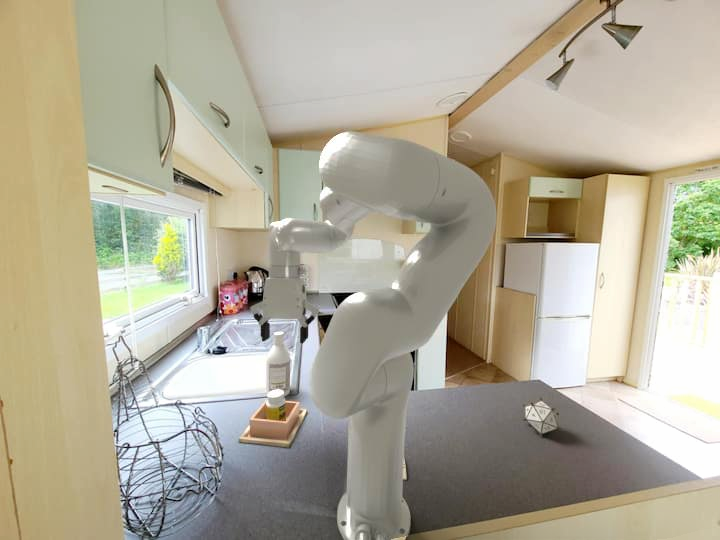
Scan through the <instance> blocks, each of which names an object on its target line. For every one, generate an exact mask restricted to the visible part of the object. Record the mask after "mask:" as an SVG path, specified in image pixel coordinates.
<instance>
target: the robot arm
mask: <svg viewBox="0 0 720 540" xmlns="http://www.w3.org/2000/svg"><path fill="white" fill-rule="evenodd" d="M318 165H319V166H318V169H319V176H320V179H321V181H322V183H323V185H324V186H325V187H324V188H323V190H322V191H321V193H320V195H319V207H320V210H321V213H322V215H323V216H324V218H325V220H326V221H321V220H313V219H303V218H301V219H300V218H294V217H293V218H292V217H288V218H284V219H282V220H280V221H274V222H272V223H270V225H269V227H268V277H266V278H265V284H264V288H263V297H262V301H259V302H258V303H255V304H253V305H251V306H250V307H249V309H250V312H251V314H252V315H253V318H254V319H255V320H256V321H257V323H258V325H259V326H260V337H261V341H262V342H265V341H267V340H269V339H270V336H271V329H270V328H271V327H270V325H271V324H270V322H269V320H270V319H273V320H274V319H275V320H277V319H279V320H280V319H281V320H297V321H298V322H299V323H300V325H301V327H300V328H299V342H300V344H305V342H306V341H307V340H308V339H309V326H310V324H311V323H312V322H313V321H314V320H315V319H316V318H317V315H318V314H319V312H320V308H319V307H317V306H315V305H313V304H312V303H309V302H308V300H307V292H306V283H305V278H303V277H302V275H306V274H307V269H306V268H303V267H302V265H301V254H304V253H306V254H307V253H308V254H314V253H315V254H326V253H329V252H333V251H335V250H337V249H338V248H340V247H342V246H343V245H345V244H347V242H349V240H350V239H351V237H352V236H353V234H354V231H355V227H356V224H357V223H358V222H359V221H361V220H363V219H364V218H366V217H367V216H368V215H370V214H372V213H374V212H375V213H378V214H380V215H382V216H384V217H389V218H393V219H397V220H403V221H410V222H415V223H416V222H417V223H424V224H429V225H430V228H429V230H428V232H427V233H426V234H425V235H424V236H423V237H422V238H421V239H420V240H419V241H418V242H417V243H416V244H415V245H414V247H412V249H411V250H410V251H409V252H408V254H407V256H406V258H405V259H404V262H403V264H402V266H401V267H400V269H399V271H398V273H397V275H396V276H395V278H394V279H393V281H392V282H391V283H390V284H389V285H387V286H384V287H382V288H373V289H364V290H362V291H358V292H355V293H353V294H351V295H349V296H348V297H346V298H345V299H344V300H343V301H342V302H341V303H340V304H339V305H338V307H337V308H336V309H335V311H334V313H333V315H332V317H331V319H330V321H329V324H328V327H327V329H326V331H325V334H324V336H323V338H322V341H321V343H320V345H319V347H318V350H317V352H316V355H315V357H314V358H313V359H314V360H313V363H312V366H311V369H310V376H309V389H310V390H309V391H310V395H311V398H312V402H313V403H314V405H315V407H316V409H318V410H319V412H320V413H321V414H323V415H325V416H326V417H328V418H330V419H335V420H337V419H338V420H340V419H346V418H348V427H347V428H348V432H347V434H348V435H347V467H346V472H347V476H346V491H345V493H344V494H343V495H342V497H341V498H340V499H339V500H340V501H339V503H338V506H337V510H336V521H337V523H336V524H337V528H338V530H339V531H338V532H339V533H340V535H341V538H342V539H343V540H391V539H394V538H399V537H405V536H407V535H408V536H409V534H410V532H411V531H410V530H411V512H410V509H409V506H408V503H407V502H406V500H405V498H404V497H403V485H404V484H403V483H404V482H403V481H404V480H403V465H404V460H405V457H404V456H405V442H406V441H405V439H406V423H407V422H406V420H407V411H408V404H409V403H408V402H409V398H410V394H411V390H412V385H413V380H414V373H415V372H414V362H413V356H412V354H411V352H414V351H416V350H418V349H421V348H422V347H424V346H425V345H426V344H427V343H429V341H430V340H431V338H432V337H433V335H435V332H436V330H437V329H438V327H439V326H440V324H441V323H442V321H443V320H444V318H445V316H446V315H447V313H448V312H449V311H450V309H451V307H452V306H453V304H454V303H455V301H456V300H457V298H458V296H459V295H460V292H461V291H462V289H463V287H464V286H465V285H466V283H467V282H468V280H469V279H470V277H471V275H472V274H473V273H474V271H475V270H476V268H477V267H478V265H479V264H480V262H481V261H482V259H483V257H484V256H485V254H486V252H487V250H488V248H489V246H490V245H491V243H492V239H493V237H494V234H495V229H496V225H497V208H496V207H497V206H496V203H495V199H494V196H493V193H492V192H491V189H490V188H489V186H488V185H487V183H486V182H485V181H484V180H483V178H482V177H481V176H480V175H479V174H477V173H476V172H475V171H474V170H473V169H471V168H470V167H468V166H466V165H465V164H462V163H461V162H459V161H457V160H455V159H453V158H450V157H449V156H446V155H443V154H441V153H438V152H436V151H434V150H433V149H431V148H428V147H426V146H424V145H421V144H418V143H416V142H414V141H411V140H407V139H403V138H396V137H390V136H385V135H383V136H382V135H377V134H371V133H365V132H359V131H353V130H351V131H350V130H348V131H344V132H341V133H339V134H337V135H336V136H334V137H332V138H331V139H330V141H329V142H328V143H327V144H326V146H325V147H324V148H323V150H322V152H321V154H320V160H319V164H318ZM260 308H262V313H261V312H260V311H259V309H260ZM307 311H310V312H311V314H310V315H309V317H307V316H306V314H307Z"/></svg>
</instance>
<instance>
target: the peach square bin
mask: <svg viewBox="0 0 720 540" xmlns="http://www.w3.org/2000/svg"><path fill="white" fill-rule="evenodd" d="M267 401H268V399H265V400H264V401H263V403H262V404H261V406H260V407H259V408H258V409H257V410H256V411H255V412H254V413H253V415H252V416H251V417H250V419H249V425H250V436H258V437H267V438H277V439H287V438H288V436H289V435H290V433H291V431H292V429H293V427H294V426H295V424H296V422H297V420H298V418H299V412H300V409H301V408H300V406H301V405H300V403H301V402H300V401H290V400H286V417H288V418H287V420H286V421H276V420H265V418H266V417H267V413H266V403H267Z"/></svg>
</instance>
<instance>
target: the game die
mask: <svg viewBox="0 0 720 540" xmlns="http://www.w3.org/2000/svg"><path fill="white" fill-rule="evenodd" d="M521 405H522V407H524V408H525V410H524V412H525V413H524V414H525V418H522V421H524V422H525V421H526V422H527V426H531V427H533V429H535V431H537V432H538V433H539V437H540V438H543V434H546V433H549V432H552V431H556V430H559V431H562V430H563V429H562V428H561V427H559V423H558V416H559V415H560V413H559V412H555V410H556V408H555V407H550V406H549V405H548V404H547V403H545V402H544V401H543V398H542V396H540V397H539V400H537V401H535V402H533V401H532V402H530V404H523V403H522V404H521Z"/></svg>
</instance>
